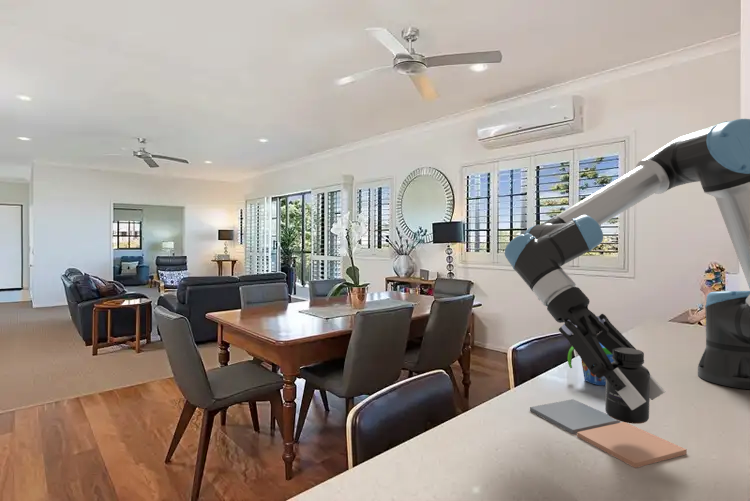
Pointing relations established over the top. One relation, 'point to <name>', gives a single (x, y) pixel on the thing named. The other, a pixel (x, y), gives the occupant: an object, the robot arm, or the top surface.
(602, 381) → the snack cup
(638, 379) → the supplement bottle
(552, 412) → the slate pad
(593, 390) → the top surface
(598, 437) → the terracotta pad
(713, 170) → the robot arm
